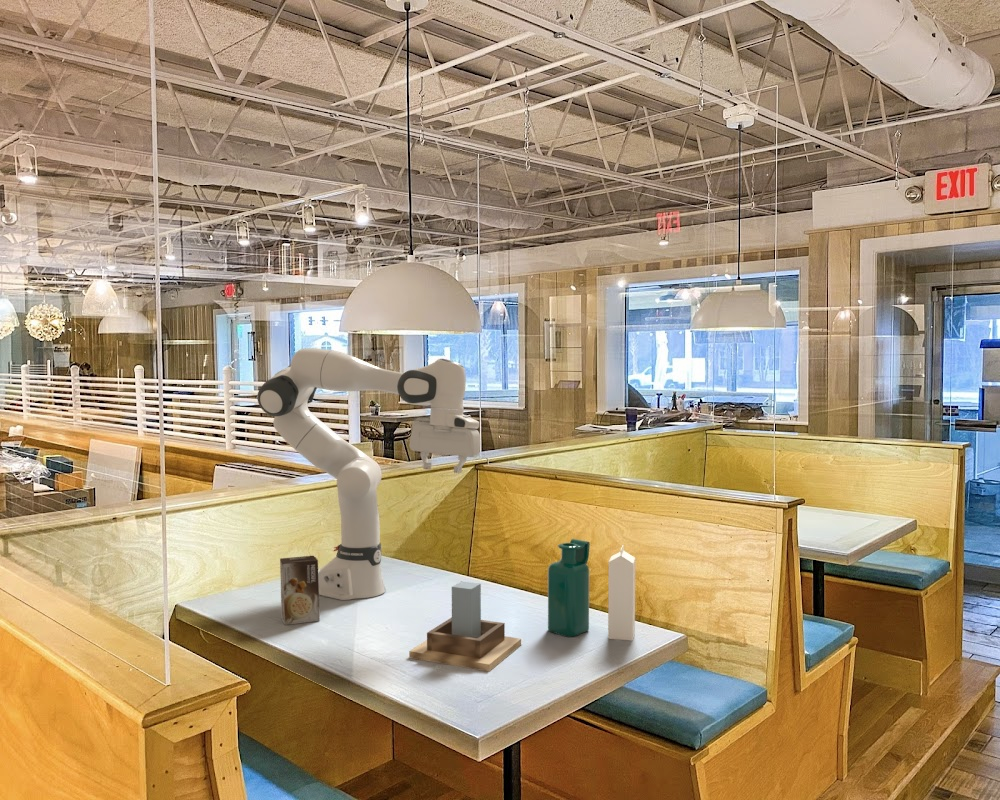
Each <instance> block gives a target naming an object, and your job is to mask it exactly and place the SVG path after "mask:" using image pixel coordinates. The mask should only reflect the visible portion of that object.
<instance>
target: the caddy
mask: <svg viewBox="0 0 1000 800" xmlns="http://www.w3.org/2000/svg"><path fill="white" fill-rule="evenodd" d="M505 626H506V625H505V622H498V621H493V620H492V621H491V620H487V619H486V620H485V619H481V636H480V637H479V638H471V637H465V636H458V635H452V617H450V618H448V619H447V620H445V621H444V622H442V623H440V624H438V625H437V626H436V627H434V628H432V629H431V630H428V631H427V632H426V640H425V641H423V642H421V643H420V644H419V645H417V646H415V647H413V648H412V649H411V650H409V657H408V658H409V659H415V660H420V661H427V662H432V663H433V662H434V663H436V664H437V663H438V664H444V665H450V666H456V667H462V668H468V669H474V670H480V671H485V672H486V671H487V672H490V671H491V670H493V669H494V668H495V667H496V666H498V665H499V664H500V663H501V662H503V661H504V659H506V658H507V657H508V656H510V655H511V654H512V653H514V651H516V650H517V649H518V648H519V647H521V646H522V638H520V637H519V638H517V637H511V636H506V634H505V628H506V627H505Z"/></svg>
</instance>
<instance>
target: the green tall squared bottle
mask: <svg viewBox="0 0 1000 800" xmlns="http://www.w3.org/2000/svg"><path fill="white" fill-rule="evenodd" d="M557 547H558V548H559V549H561V550H560V551H561V557H560V559H559V560H558V561H555V562H552V563H550V564H549V566H548V569H547V630H548V631H549V632H550V633H554V634H556V635H561V636H564V637H568V638H573V637H577V636H579V635H581V634H584V633H586V632H588V631H589V629H590V569H589V566H588V560H589V557H590V541H588V540H587V541H586V540H582V539H576V538H572V539H571V540H570V542H564V543H563V542H562V543H559V544H558V545H557Z"/></svg>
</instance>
